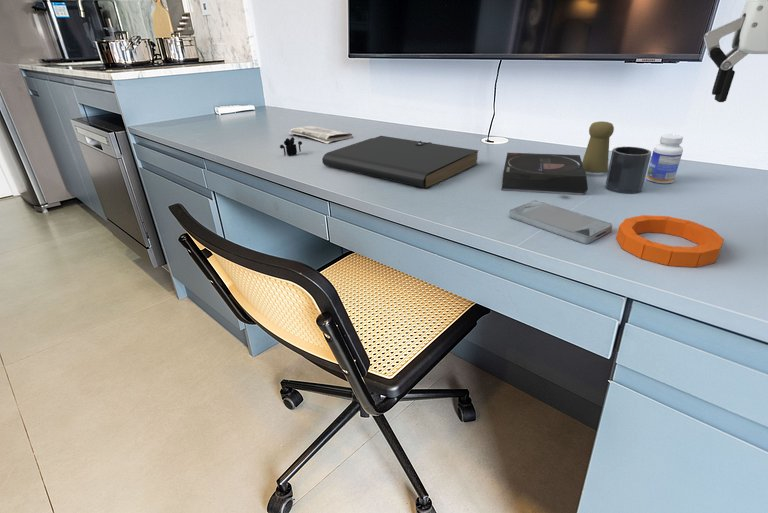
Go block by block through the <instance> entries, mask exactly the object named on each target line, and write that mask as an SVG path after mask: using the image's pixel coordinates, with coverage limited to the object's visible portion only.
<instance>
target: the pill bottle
mask: <svg viewBox="0 0 768 513" xmlns="http://www.w3.org/2000/svg"><path fill="white" fill-rule="evenodd" d="M683 140H684V136H683V135H680V134H676V133H675V134H674V133H663V134H661V136H660V137H659V144H656V145H655V146H654V147H653V150H652V152H651V156H650V160H649V164H648V168H647V172H646V180H647V181H649V182H651V183H655V184H656V183H657V184H671V183H674V181H675V179H676V176H677V172H678V168H679V166H680V162H681V159H682V155H683V153H684V148H683V147H682V146H681V145H682V143H683Z"/></svg>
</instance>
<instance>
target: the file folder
mask: <svg viewBox="0 0 768 513" xmlns="http://www.w3.org/2000/svg"><path fill="white" fill-rule="evenodd" d="M478 154H479V150H477V149H472V148H466V147H459V146H453V145H446V144H440V143H439V144H437V143H432V142H425V141H422V140H420V141H419V140H413V139H412V140H411V139H406V138H399V137H391V136H386V135H379V136H376V137H372V138H368V139H365V140H362V141H359V142H356V143H352V144H350V145H347V146H343V147H340V148H337V149H334V150H330V151H328V152H326V153H325V154H324V155H323V156H322V164H323V165H324V166H327V167H331V168H335V169H340V170H345V171H348V172H353V173H358V174H361V175H367V176H371V177H374V178H375V177H376V178H379V179H383V180H388V181H392V182H398V183H402V184H406V185H411V186H415V187H419V188H423V189H430V188H432V187H434V186H436V185H438V184H440V183H442V182H444V181H446V180H448V179H450V178H452V177H454V176H457V175H458V174H460V173H462V172H465V171H467V170H469V169H471V168H473V167H475V166H477V165H478Z"/></svg>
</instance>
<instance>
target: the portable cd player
mask: <svg viewBox="0 0 768 513" xmlns="http://www.w3.org/2000/svg"><path fill="white" fill-rule="evenodd" d="M582 162H583V160H582V158H581V155H580V154H559V153H557V154H555V153H529V152H527V153H526V152H525V153H524V152H507V153H506V157H505V162H504V168H503V172H502V181H501V182H502V183H501V191H510V192H525V193H543V194H559V195H574V196H575V195H578V196H579V195H580V196H583V195H585V193H586V192H587V191H588V176H587V173H586V171H585V170H584V167H583V164H582Z"/></svg>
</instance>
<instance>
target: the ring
mask: <svg viewBox="0 0 768 513" xmlns="http://www.w3.org/2000/svg"><path fill="white" fill-rule="evenodd" d="M644 233H654V234H657V233H658V234H665V235H671V236H675V237H680V238H683V239H686V240H688V241H690V242H692V243H695V244H696V245H695V246H675V245H669V244H665V243H661V242H656V241H652V240H649V239H648V238H646V237H643V236H641V235H640V234H644ZM616 241H617V243H618V244H619V246H620V247H621V249H622V250H624V251H625V252H628V253H630V254H631V255H633V256H635V257H636V258H639V259H641V260H644V261H649V262H652V263H656V264H661V265H664V266H669V267H681V268H682V267H683V268H700V267H703V266H708V265H711V264H715V263H716V261H717V259H718V257H719V254H720V252H721V249H722V247H723V244H724V238H723V237H722V236H721V235H720V234H719V233H718V232H716V230H714V229H712V228H710V227H708V226H705V225H702V224H700V223H698V222H695V221H692V220H689V219H682V218H679V217H673V216H668V215H667V216H666V215H651V214H650V215H649V214H648V215H647V214H642V215H637V216H632V217H631V216H630V217H626V218H624V220H622V222H620V224H619V225H618V229H617V233H616Z"/></svg>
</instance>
